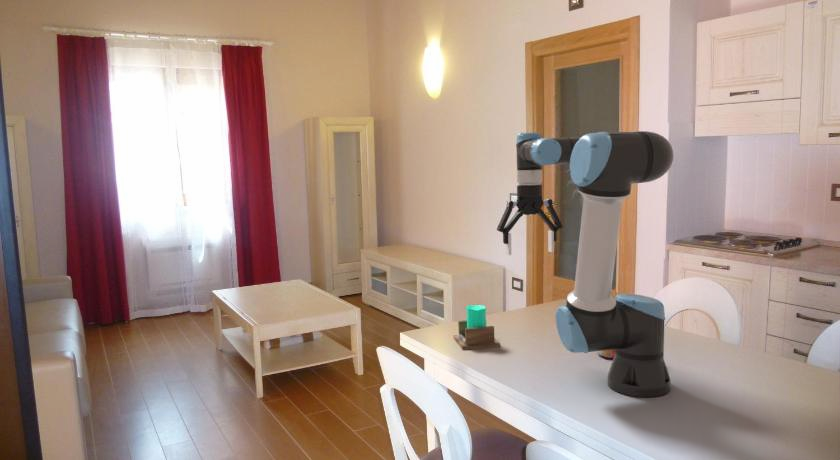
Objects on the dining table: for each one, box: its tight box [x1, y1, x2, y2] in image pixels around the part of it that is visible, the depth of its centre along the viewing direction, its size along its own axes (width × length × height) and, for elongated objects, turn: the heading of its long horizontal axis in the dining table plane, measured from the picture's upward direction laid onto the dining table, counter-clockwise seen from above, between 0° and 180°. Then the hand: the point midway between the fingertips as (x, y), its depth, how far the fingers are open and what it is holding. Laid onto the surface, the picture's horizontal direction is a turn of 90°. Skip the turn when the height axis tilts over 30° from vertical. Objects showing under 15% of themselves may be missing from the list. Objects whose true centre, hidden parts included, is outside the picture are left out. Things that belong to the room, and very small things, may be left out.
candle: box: [466, 304, 487, 328], centre depth 196 cm, size 6×6×12 cm
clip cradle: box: [453, 319, 501, 350], centre depth 197 cm, size 12×12×6 cm
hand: (530, 253), depth 190 cm, fingers open, 13 cm apart
